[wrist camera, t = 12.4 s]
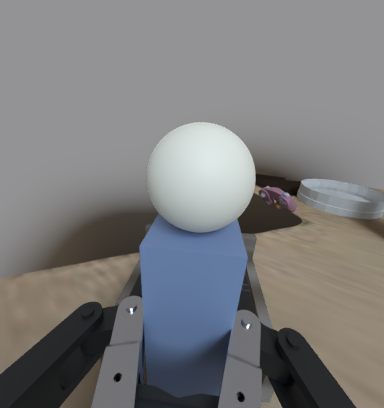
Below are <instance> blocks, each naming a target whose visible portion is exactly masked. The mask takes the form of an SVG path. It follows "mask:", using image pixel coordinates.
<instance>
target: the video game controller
mask: <svg viewBox="0 0 384 408" xmlns="http://www.w3.org/2000/svg"><path fill="white" fill-rule="evenodd" d="M259 195H260V196H261V197H262V199H263V200H265V202H266V204H267V205H269V206H271V205H272V204H274V200H276V203H275V207H276V208H277V209H278V210H281V209H282V208H286V209H287V210H289V211H291V212H294V211H295V210H296V207H297V205H296V203H295V202H294V201H293V199H292V197H291V196H290V195H289V194H288V193H285V192H284V191H282V190H281V189H279V188H275V187H271V188H270V187H269V186H267V187H265V188H262V189H261V190H260V191H259ZM273 199H274V200H273Z"/></svg>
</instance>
